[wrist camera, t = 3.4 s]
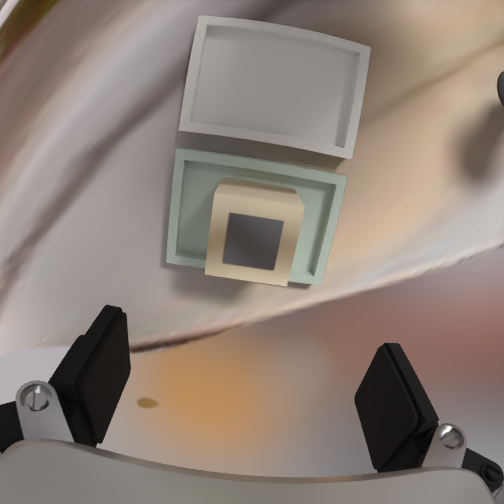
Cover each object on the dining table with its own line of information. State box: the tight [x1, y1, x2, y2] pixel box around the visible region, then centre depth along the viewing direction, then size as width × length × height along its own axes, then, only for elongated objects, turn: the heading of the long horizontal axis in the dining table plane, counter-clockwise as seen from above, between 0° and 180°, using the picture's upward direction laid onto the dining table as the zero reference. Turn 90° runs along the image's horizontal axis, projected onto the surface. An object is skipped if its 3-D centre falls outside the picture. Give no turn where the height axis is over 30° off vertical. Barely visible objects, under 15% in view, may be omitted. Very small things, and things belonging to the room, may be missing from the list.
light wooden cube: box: [205, 177, 305, 286], centre depth 25 cm, size 6×6×6 cm
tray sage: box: [166, 148, 348, 285], centre depth 27 cm, size 10×14×2 cm
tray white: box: [179, 15, 371, 160], centre depth 23 cm, size 10×14×2 cm
